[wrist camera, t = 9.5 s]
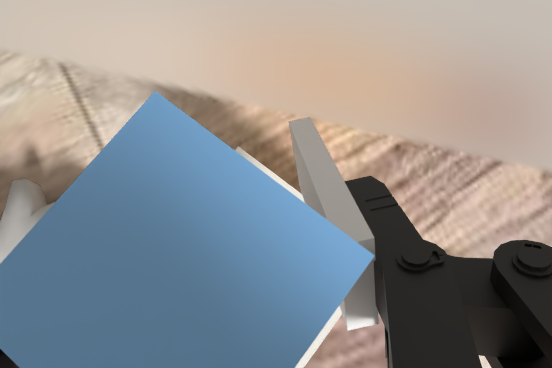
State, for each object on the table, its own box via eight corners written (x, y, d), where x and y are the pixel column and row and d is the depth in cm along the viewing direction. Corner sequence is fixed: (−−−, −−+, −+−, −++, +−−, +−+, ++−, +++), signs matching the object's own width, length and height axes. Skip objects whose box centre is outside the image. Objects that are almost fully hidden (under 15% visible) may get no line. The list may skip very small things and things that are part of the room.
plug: (181, 283, 17) (-41, 308, 5) (242, 208, 17) (155, 91, 6) (257, 347, 16) (181, 526, 5) (317, 266, 17) (374, 255, 5)
